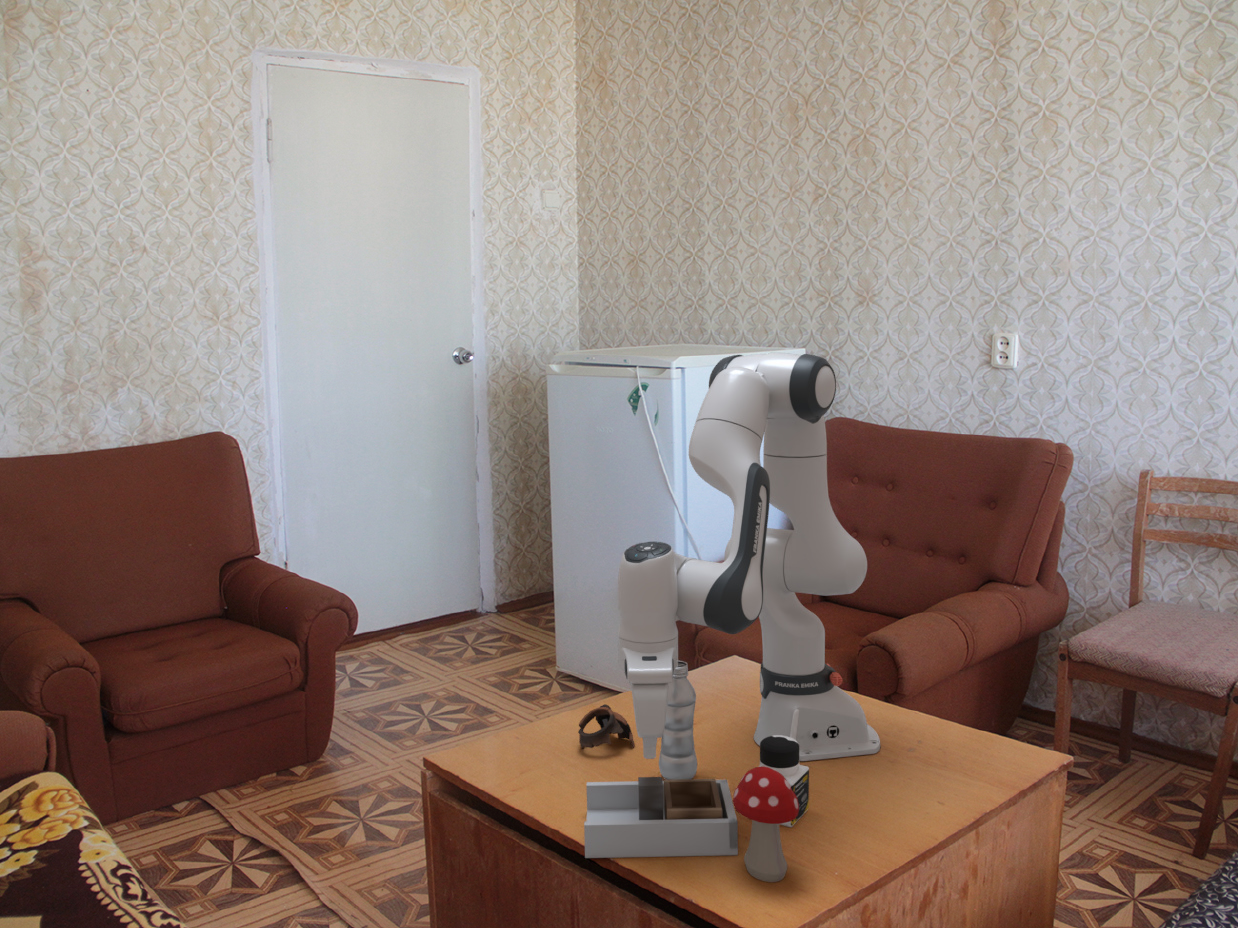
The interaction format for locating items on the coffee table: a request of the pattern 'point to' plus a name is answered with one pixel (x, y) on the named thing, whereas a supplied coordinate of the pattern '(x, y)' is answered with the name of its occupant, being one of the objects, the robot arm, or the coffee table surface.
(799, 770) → the medicine bottle
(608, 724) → the broken clay pot
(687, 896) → the coffee table surface
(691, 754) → the plastic bottle
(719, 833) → the bay
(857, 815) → the coffee table surface
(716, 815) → the crate
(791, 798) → the decorative mushroom
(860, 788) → the coffee table surface
